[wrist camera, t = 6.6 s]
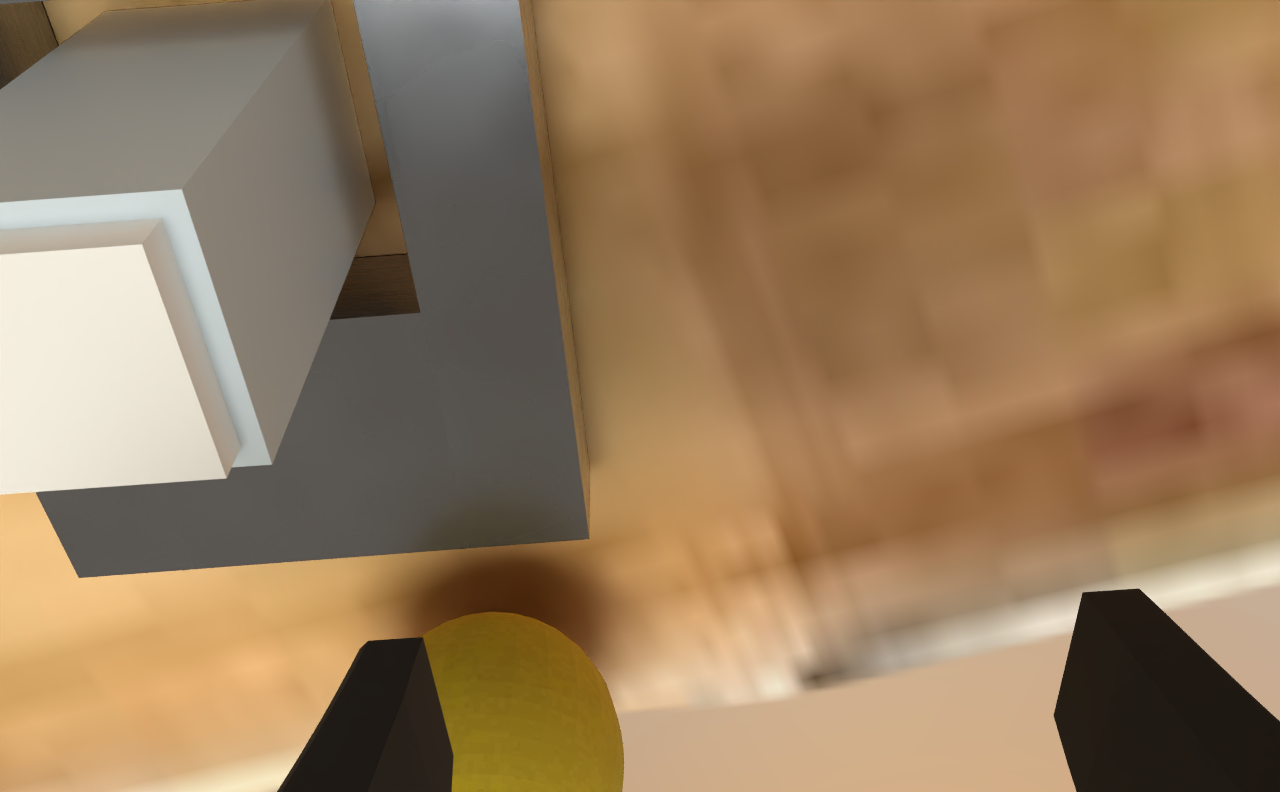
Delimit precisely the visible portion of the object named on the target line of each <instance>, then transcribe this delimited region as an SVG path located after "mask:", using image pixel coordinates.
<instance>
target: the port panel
mask: <svg viewBox="0 0 1280 792" xmlns="http://www.w3.org/2000/svg"><path fill="white" fill-rule="evenodd" d="M41 1H47V0H0V90H1V89H2V88H3V87H5V86H6V85H7V84H9V83H10V82H11V81H13V80H14V79H15V78H17V77H18V76H19V75H21V74H22V73H23V72H25V71H26V70H27V69H29V68H30V67H31V66H33V65H34V64H35V63H37V62H38V61H39V60H41V59H42V58H43V57H45V56H46V55H47V54H49V53H50V52H51V51H53V50H54V49H55V48H57V47H58V45H57V42H56V39H55V37H54V34H53V31H52V29H51V26H50V24H49V21H48V18H47V16H46V13H45V10H44V8H43V5H42V2H41ZM353 3H354V8H355V12H356V17H357V22H358V26H359V31H360V35H361V40H362V45H363V49H364V54H365V59H366V63H367V68H368V72H369V77H370V82H371V86H372V91H373V96H374V100H375V105H376V109H377V114H378V119H379V123H380V128H381V133H382V137H383V142H384V146H385V151H386V156H387V160H388V165H389V169H390V174H391V179H392V183H393V188H394V193H395V197H396V202H397V206H398V211H399V216H400V220H401V225H402V230H403V234H404V239H405V243H406V248H407V253H408V254H404V255H391V256H379V257H366V258H354V259H353V261H352V264H351V266H350V269H349V271H348V274H347V276H346V279H345V281H344V284H343V286H342V289H341V291H340V294H339V296H338V299H337V302H336V304H335V307H334V309H333V312H332V314H331V317H330V319H329V322H328V324H327V327H326V329H325V332H324V334H323V337H322V340H321V342H320V345H319V347H318V350H317V352H316V355H315V357H314V360H313V362H312V365H311V367H310V370H309V372H308V375H307V378H306V380H305V383H304V385H303V388H302V390H301V393H300V395H299V398H298V400H297V403H296V405H295V408H294V410H293V413H292V416H291V418H290V421H289V423H288V426H287V428H286V431H285V433H284V436H283V438H282V441H281V443H280V446H279V448H278V451H277V454H276V456H275V459H274V461H273V464H272V465H259V466H245V467H232V468H231V470H230V472H229V474H228V477H227V478H226V479H211V480H197V481H183V482H169V483H155V484H141V485H127V486H113V487H99V488H84V489H70V490H56V491H42V492H36V494H37V496H38V498H39V500H40V502H41V504H42V506H43V508H44V510H45V512H46V514H47V516H48V518H49V520H50V522H51V524H52V526H53V528H54V530H55V532H56V533H57V535H58V537H59V539H60V541H61V543H62V545H63V547H64V549H65V551H66V553H67V555H68V557H69V559H70V561H71V563H72V565H73V567H74V569H75V571H76V573H77V575H78V577H79V578H83V577H97V576H110V575H123V574H136V573H149V572H162V571H176V570H189V569H202V568H215V567H228V566H241V565H254V564H268V563H281V562H294V561H307V560H320V559H333V558H346V557H360V556H373V555H386V554H399V553H412V552H425V551H438V550H452V549H465V548H478V547H491V546H504V545H517V544H530V543H544V542H557V541H570V540H583V539H589V523H590V465H589V457H588V449H587V441H586V433H585V425H584V417H583V409H582V401H581V393H580V385H579V377H578V369H577V361H576V353H575V345H574V337H573V329H572V321H571V313H570V305H569V297H568V289H567V281H566V273H565V265H564V257H563V249H562V241H561V233H560V225H559V217H558V209H557V201H556V193H555V185H554V177H553V169H552V161H551V153H550V145H549V137H548V129H547V121H546V113H545V105H544V97H543V89H542V81H541V73H540V65H539V57H538V49H537V41H536V33H535V25H534V17H533V9H532V1H531V0H353Z"/></svg>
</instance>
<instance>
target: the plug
mask: <svg viewBox="0 0 1280 792" xmlns="http://www.w3.org/2000/svg"><path fill="white" fill-rule="evenodd" d="M374 205H375V198H374V194H373V189H372V185H371V180H370V175H369V171H368V166H367V162H366V157H365V153H364V148H363V144H362V139H361V135H360V130H359V126H358V121H357V116H356V112H355V107H354V103H353V98H352V94H351V89H350V85H349V80H348V76H347V71H346V66H345V62H344V57H343V53H342V48H341V44H340V39H339V35H338V30H337V26H336V21H335V17H334V12H333V7H332V3H331V0H248V1H235V2H222V3H208V4H195V5H182V6H168V7H155V8H142V9H128V10H115V11H105V12H103V13H102V14H101V15H99V16H98V17H97V18H95V19H94V20H93V21H91V22H90V23H89V24H87V25H86V26H85V27H83V28H82V29H81V30H79V31H78V32H77V33H75V34H74V35H73V36H71V37H70V38H69V39H67V40H66V41H65V42H63V43H62V44H61V45H59V46H58V47H57V48H55V49H54V50H53V51H51V52H50V53H49V54H47V55H46V56H45V57H43V58H42V59H41V60H39V61H38V62H37V63H35V64H34V65H33V66H31V67H30V68H29V69H27V70H26V71H25V72H23V73H22V74H21V75H19V76H18V77H17V78H15V79H14V80H13V81H11V82H10V83H9V84H7V85H6V86H5V87H3V88H2V89H1V90H0V494H14V493H28V492H42V491H56V490H70V489H84V488H99V487H113V486H127V485H141V484H155V483H169V482H183V481H197V480H211V479H226V478H227V477H228V474H229V472H230V470H231V468H232V467H245V466H259V465H272V464H273V461H274V459H275V456H276V454H277V451H278V448H279V446H280V443H281V441H282V438H283V436H284V433H285V431H286V428H287V426H288V423H289V421H290V418H291V416H292V413H293V410H294V408H295V405H296V403H297V400H298V398H299V395H300V393H301V390H302V388H303V385H304V383H305V380H306V378H307V375H308V372H309V370H310V367H311V365H312V362H313V360H314V357H315V355H316V352H317V350H318V347H319V345H320V342H321V340H322V337H323V334H324V332H325V329H326V327H327V324H328V322H329V319H330V317H331V314H332V312H333V309H334V307H335V304H336V302H337V299H338V296H339V294H340V291H341V289H342V286H343V284H344V281H345V279H346V276H347V274H348V271H349V269H350V266H351V264H352V261H353V258H354V256H355V253H356V251H357V248H358V246H359V243H360V241H361V238H362V236H363V233H364V231H365V228H366V226H367V223H368V220H369V218H370V215H371V213H372V210H373V208H374Z"/></svg>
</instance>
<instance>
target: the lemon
mask: <svg viewBox="0 0 1280 792" xmlns="http://www.w3.org/2000/svg"><path fill="white" fill-rule="evenodd" d="M420 637H423V639H424V643H425V646H426V650H427V654H428V658H429V662H430V666H431V670H432V673H433V677H434V681H435V685H436V689H437V693H438V697H439V701H440V704H441V708H442V712H443V716H444V720H445V724H446V728H447V732H448V735H449V739H450V743H451V747H452V751H453V755H454V758H453V776H452V792H622V787H623V774H624V771H623V770H624V754H623V743H622V736H621V730H620V726H619V722H618V718H617V714H616V711H615V708H614V705H613V702H612V699H611V696H610V693H609V690H608V688H607V685H606V683H605V681H604V679H603V677H602V676H601V674H600V672H599V671H598V670H597V668H596V667H595V666H594V664H593V663H592V662H591V660H590V659H589V658H588V656H587V655H586V654H585V653H584V651H583V650H582V649H581V648H580V647H579V646H578V645H577V644H575V643H574V642H573V641H572V640H570V639H569V638H568V637H567V636H565V635H564V634H563V633H562V632H560V631H559V630H558V629H556V628H554V627H552V626H550V625H548V624H545V623H543V622H541V621H539V620H537V619H534V618H531V617H527V616H523V615H519V614H515V613H506V612H485V613H476V614H469V615H465V616H462V617H459V618H456V619H453V620H450V621H447V622H444V623H442V624H441V625H439V626H437V627H435V628H434V629H432V630H430V631H429V632H427V633H425V634H423V635H422V636H420ZM418 638H419V637H418Z"/></svg>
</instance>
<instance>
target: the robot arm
mask: <svg viewBox="0 0 1280 792" xmlns="http://www.w3.org/2000/svg"><path fill="white" fill-rule="evenodd" d="M1054 718H1055V721H1056V725H1057V729H1058V732H1059V736H1060V739H1061V742H1062V746H1063V749H1064V753H1065V756H1066V759H1067V763H1068V766H1069V769H1070V772H1071V776H1072V779H1073V782H1074V785H1075V788H1076V791H1077V792H1280V721H1279V720H1278V719H1277V718H1275V717H1274V716H1273V715H1272V714H1271V713H1270V712H1269V711H1268V710H1267V709H1266V708H1265V707H1263V706H1262V705H1261V704H1260V703H1259V702H1258V701H1257V700H1256V699H1255V698H1254V697H1253V696H1252V695H1251V694H1249V693H1248V692H1247V691H1246V690H1245V689H1244V688H1243V687H1242V686H1241V685H1240V684H1239V683H1238V682H1237V681H1236V680H1235V679H1233V678H1232V677H1231V676H1230V675H1229V674H1228V673H1227V672H1226V671H1225V670H1224V669H1223V668H1222V667H1221V666H1220V665H1219V664H1218V663H1217V662H1216V661H1214V660H1213V659H1212V658H1211V657H1210V656H1209V655H1208V654H1207V653H1206V652H1205V651H1204V650H1203V649H1202V648H1201V647H1200V646H1199V645H1198V644H1197V643H1196V642H1195V641H1194V640H1193V639H1191V638H1190V636H1188V635H1187V634H1186V633H1185V632H1184V631H1183V630H1182V629H1181V628H1180V627H1179V626H1178V625H1177V624H1176V623H1175V622H1174V621H1173V620H1172V619H1171V618H1170V617H1169V616H1167V614H1166V613H1164V612H1163V611H1162V610H1161V609H1160V608H1159V607H1158V606H1157V605H1156V604H1155V603H1154V602H1153V601H1152V600H1151V599H1150V598H1149V597H1148V596H1146V595H1145V594H1144V593H1143V592H1142V591H1141V590H1140V589H1127V590H1112V591H1097V592H1083V593H1082V598H1081V602H1080V606H1079V610H1078V614H1077V619H1076V623H1075V627H1074V631H1073V636H1072V640H1071V644H1070V649H1069V653H1068V657H1067V661H1066V665H1065V670H1064V674H1063V678H1062V682H1061V686H1060V691H1059V695H1058V699H1057V704H1056V708H1055V712H1054ZM453 758H454V755H453V751H452V747H451V743H450V739H449V735H448V732H447V728H446V724H445V720H444V716H443V712H442V708H441V704H440V701H439V697H438V693H437V689H436V685H435V681H434V677H433V673H432V670H431V666H430V662H429V658H428V654H427V650H426V646H425V643H424V639H423V637H419V638H404V639H389V640H374V641H368V642H367V643H365V644H364V645H363V646H362V647H361V648H360V650H359V652H358V654H357V655H356V657H355V659H354V661H353V663H352V665H351V667H350V669H349V670H348V672H347V674H346V676H345V678H344V680H343V681H342V683H341V685H340V687H339V689H338V691H337V692H336V694H335V696H334V698H333V700H332V701H331V703H330V705H329V707H328V708H327V710H326V712H325V714H324V715H323V717H322V719H321V721H320V722H319V724H318V726H317V727H316V729H315V731H314V733H313V734H312V736H311V738H310V739H309V741H308V743H307V744H306V746H305V748H304V749H303V751H302V753H301V754H300V756H299V758H298V759H297V761H296V762H295V764H294V766H293V767H292V769H291V770H290V772H289V774H288V775H287V777H286V778H285V780H284V782H283V783H282V785H281V786H280V788H279V789H278V791H277V792H452V776H453Z"/></svg>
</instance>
